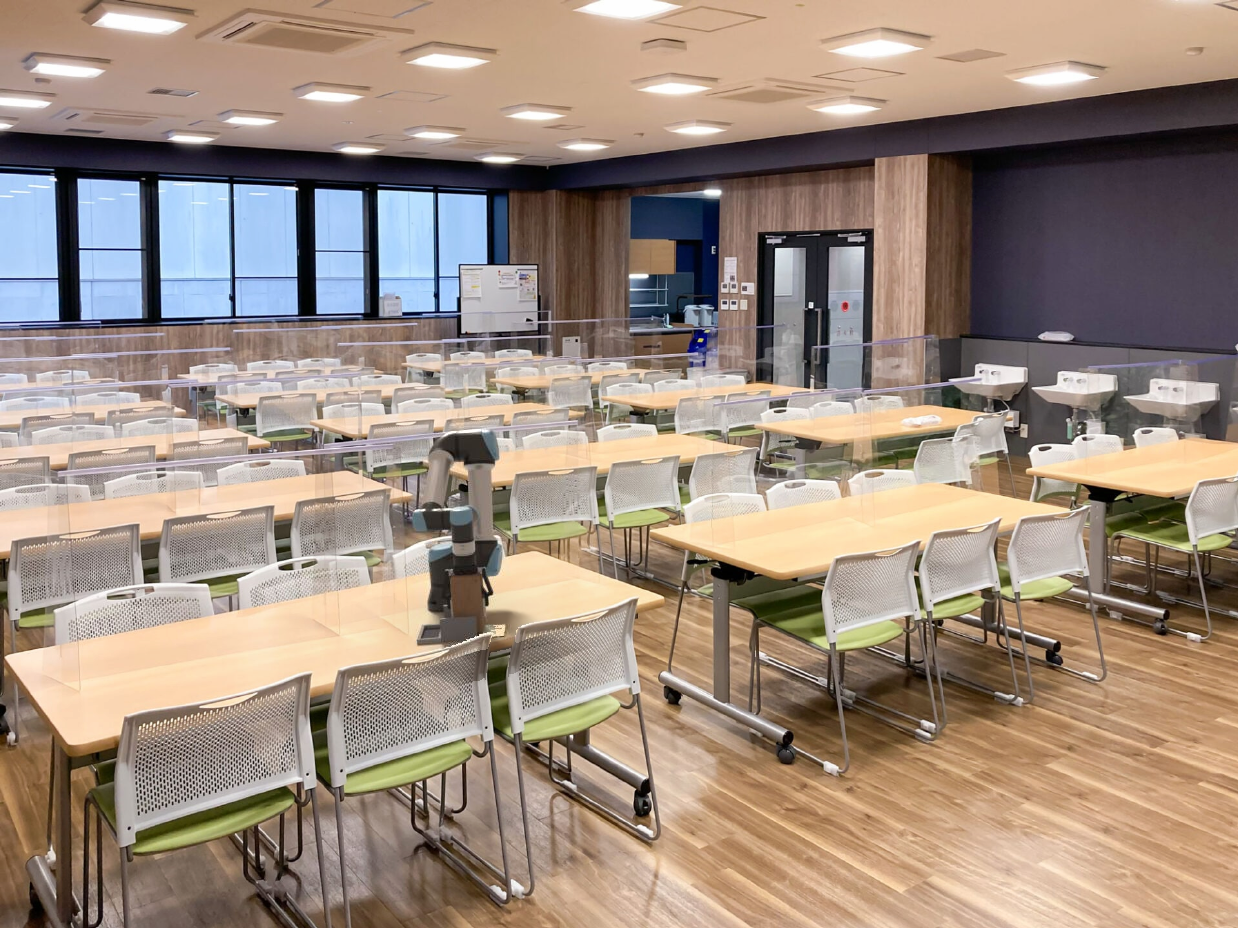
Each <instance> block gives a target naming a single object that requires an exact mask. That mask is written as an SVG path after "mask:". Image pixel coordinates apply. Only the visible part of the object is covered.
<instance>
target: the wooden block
mask: <svg viewBox="0 0 1238 928" xmlns="http://www.w3.org/2000/svg"><path fill="white" fill-rule="evenodd" d="M482 585H483V586H484V579H483V576H482V574H480V572H479V571H478V572H477V573H476V574H472V575H468V574H467V575H462V576H458V575H455V574H454V573H453V574H452V576H451V578H450V586H451V598H452V610H453V618H455V617H469V616H476V624H477V634H478V633H481V632H483V631H484V628H485V625H487V616H486V617H484V613H483V600H482V598H483V594H482V590H481V586H482Z"/></svg>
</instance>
